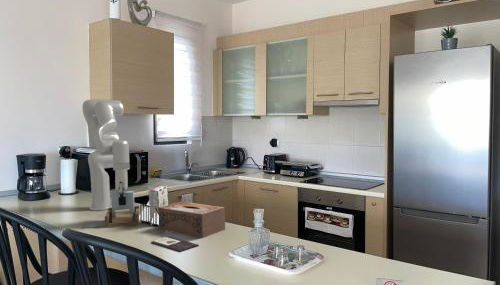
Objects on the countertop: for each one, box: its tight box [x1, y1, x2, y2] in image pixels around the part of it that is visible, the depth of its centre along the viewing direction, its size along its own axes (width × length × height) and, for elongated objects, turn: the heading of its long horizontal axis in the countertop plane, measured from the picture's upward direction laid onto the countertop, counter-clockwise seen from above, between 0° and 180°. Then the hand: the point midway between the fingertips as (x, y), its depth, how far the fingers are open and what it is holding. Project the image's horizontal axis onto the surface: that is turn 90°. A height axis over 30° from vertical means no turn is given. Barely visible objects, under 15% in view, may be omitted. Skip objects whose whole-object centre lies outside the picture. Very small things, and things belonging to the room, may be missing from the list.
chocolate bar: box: [150, 236, 200, 253], centre depth 160 cm, size 9×1×18 cm
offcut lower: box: [111, 214, 133, 223], centre depth 193 cm, size 4×9×4 cm, turn 103°
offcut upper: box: [115, 209, 130, 217], centre depth 193 cm, size 4×6×2 cm, turn 114°
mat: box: [81, 219, 105, 229], centre depth 193 cm, size 11×11×1 cm
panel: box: [110, 190, 135, 221], centre depth 198 cm, size 4×10×14 cm, turn 102°
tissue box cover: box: [158, 201, 226, 239], centre depth 180 cm, size 26×14×10 cm, turn 55°
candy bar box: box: [148, 185, 169, 226], centre depth 193 cm, size 11×5×16 cm, turn 168°
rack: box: [104, 205, 141, 228], centre depth 195 cm, size 14×14×6 cm
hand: (123, 203), depth 198 cm, fingers open, 5 cm apart
